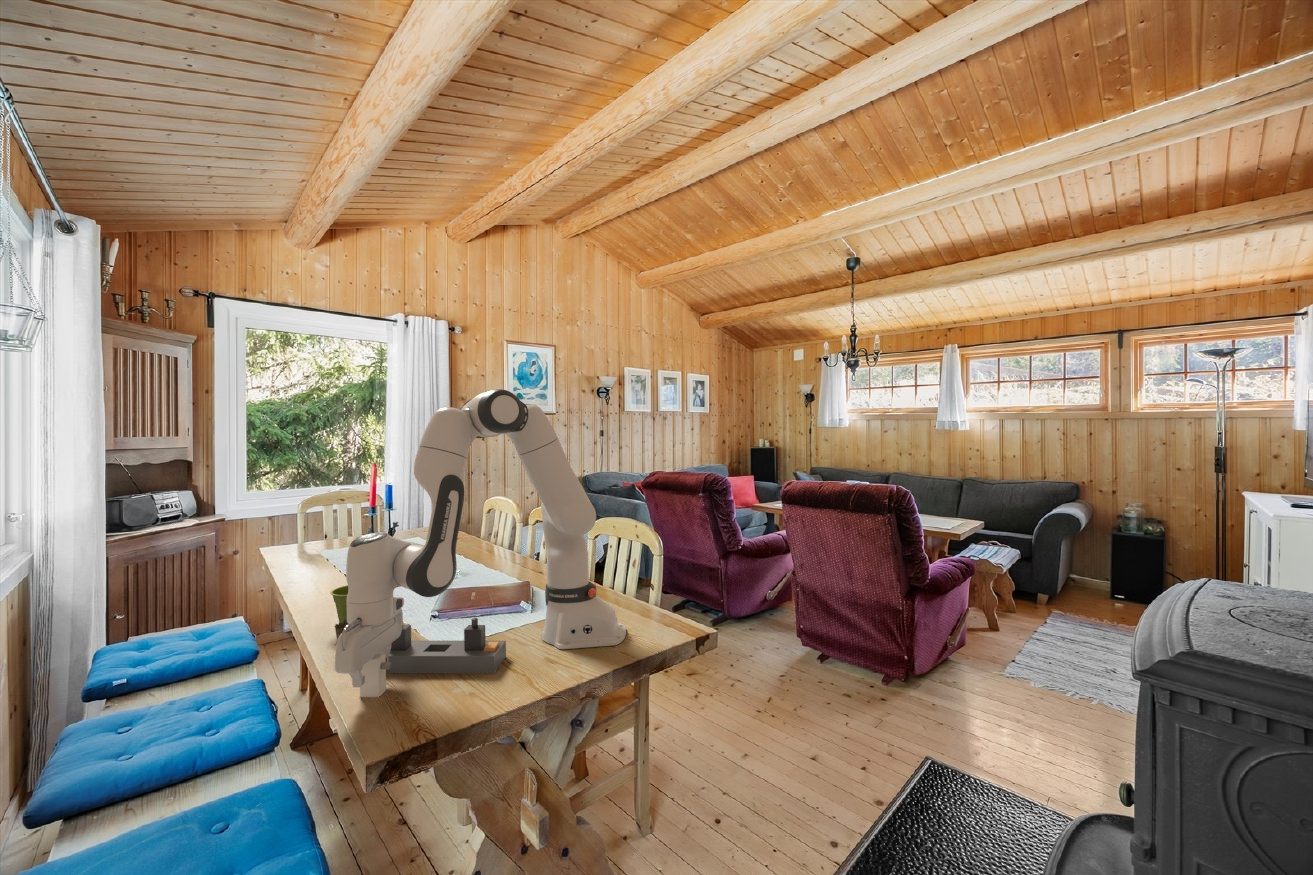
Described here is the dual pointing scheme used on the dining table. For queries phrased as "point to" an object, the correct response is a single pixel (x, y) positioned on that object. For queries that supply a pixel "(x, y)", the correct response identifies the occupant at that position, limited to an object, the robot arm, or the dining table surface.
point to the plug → (374, 676)
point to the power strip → (447, 653)
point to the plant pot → (341, 601)
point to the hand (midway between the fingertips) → (371, 675)
